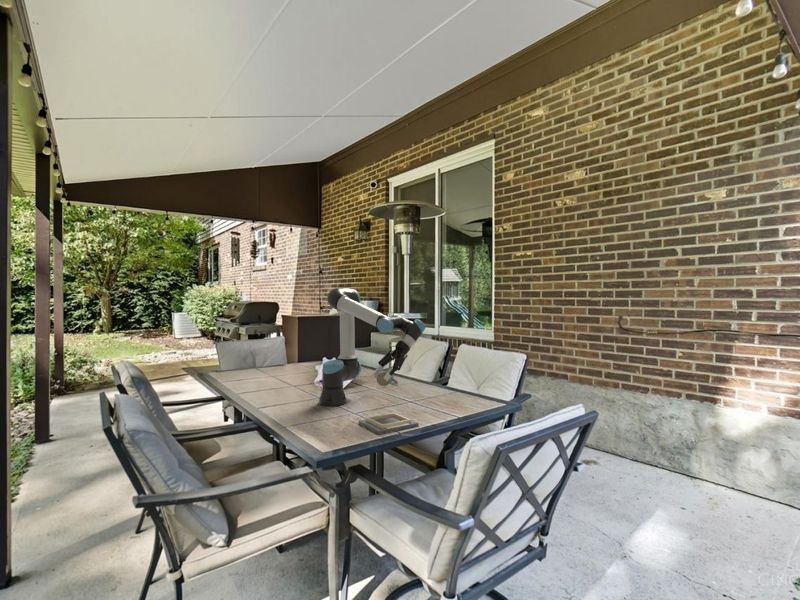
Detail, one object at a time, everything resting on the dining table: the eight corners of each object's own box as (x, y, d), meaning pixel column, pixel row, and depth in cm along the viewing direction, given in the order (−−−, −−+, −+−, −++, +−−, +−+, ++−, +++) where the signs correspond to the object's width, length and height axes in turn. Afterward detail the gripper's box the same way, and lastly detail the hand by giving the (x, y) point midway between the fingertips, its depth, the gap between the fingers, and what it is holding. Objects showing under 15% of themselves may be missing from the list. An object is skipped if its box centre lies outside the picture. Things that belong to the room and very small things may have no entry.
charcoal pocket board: (358, 424, 201) (358, 417, 201) (396, 416, 213) (396, 410, 213) (378, 434, 186) (378, 427, 186) (418, 426, 198) (418, 419, 198)
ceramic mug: (375, 386, 213) (376, 371, 213) (379, 383, 221) (379, 368, 221) (396, 387, 211) (396, 372, 211) (399, 384, 219) (399, 369, 219)
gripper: (422, 351, 216) (396, 386, 207) (396, 347, 234) (372, 378, 225) (413, 342, 213) (387, 376, 204) (388, 338, 231) (363, 369, 222)
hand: (379, 377), depth 215 cm, fingers closed on ceramic mug, 10 cm apart
